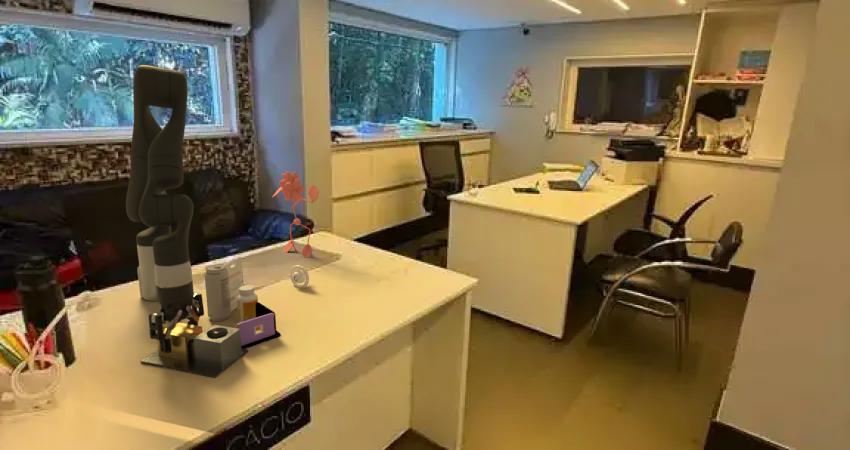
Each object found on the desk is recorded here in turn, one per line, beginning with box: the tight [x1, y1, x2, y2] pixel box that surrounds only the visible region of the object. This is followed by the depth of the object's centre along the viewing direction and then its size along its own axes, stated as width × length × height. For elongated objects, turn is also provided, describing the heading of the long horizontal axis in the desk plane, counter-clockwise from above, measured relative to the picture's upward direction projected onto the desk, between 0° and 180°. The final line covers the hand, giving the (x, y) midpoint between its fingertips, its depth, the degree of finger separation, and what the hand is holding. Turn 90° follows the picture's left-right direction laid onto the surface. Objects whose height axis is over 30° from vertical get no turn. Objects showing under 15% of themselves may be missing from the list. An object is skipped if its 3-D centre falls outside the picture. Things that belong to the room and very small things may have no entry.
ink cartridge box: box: [224, 256, 245, 312], centre depth 136 cm, size 9×5×15 cm, turn 170°
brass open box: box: [156, 322, 204, 360], centre depth 110 cm, size 8×6×6 cm
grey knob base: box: [140, 324, 249, 379], centre depth 109 cm, size 20×12×8 cm, turn 75°
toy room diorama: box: [232, 301, 281, 349], centre depth 120 cm, size 12×12×7 cm
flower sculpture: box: [272, 170, 320, 259], centre depth 178 cm, size 15×26×35 cm, turn 57°
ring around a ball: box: [289, 264, 310, 289], centre depth 154 cm, size 8×6×8 cm
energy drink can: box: [204, 264, 232, 322], centre depth 129 cm, size 6×6×15 cm
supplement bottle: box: [237, 284, 259, 323], centre depth 129 cm, size 5×5×10 cm
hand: (180, 343), depth 110 cm, fingers open, 8 cm apart
